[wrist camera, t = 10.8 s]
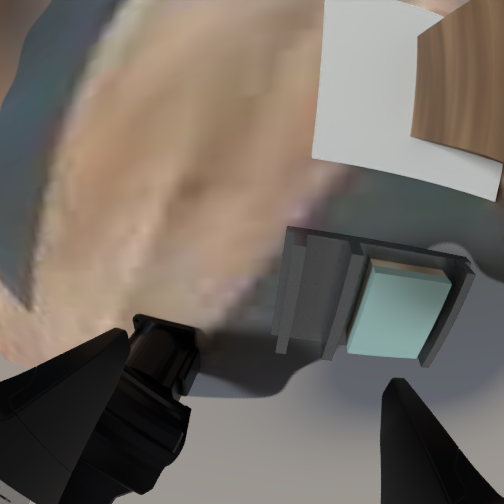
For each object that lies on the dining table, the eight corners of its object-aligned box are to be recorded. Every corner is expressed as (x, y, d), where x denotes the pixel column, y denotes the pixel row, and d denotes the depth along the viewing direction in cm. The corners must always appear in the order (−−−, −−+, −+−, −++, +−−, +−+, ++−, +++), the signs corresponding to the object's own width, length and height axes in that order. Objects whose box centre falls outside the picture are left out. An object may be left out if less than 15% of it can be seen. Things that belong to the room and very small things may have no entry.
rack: (272, 327, 24) (267, 351, 22) (287, 226, 20) (283, 243, 18) (427, 344, 22) (435, 367, 20) (465, 257, 18) (482, 275, 16)
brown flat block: (410, 136, 15) (487, 155, 7) (417, 36, 12) (487, -10, 4) (437, 144, 15) (522, 171, 7) (444, 46, 12) (523, 13, 4)
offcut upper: (346, 344, 21) (347, 352, 20) (372, 265, 18) (375, 272, 17) (413, 350, 20) (416, 358, 20) (446, 276, 17) (451, 284, 16)
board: (311, 156, 18) (311, 158, 17) (325, -9, 13) (325, -15, 12) (488, 197, 16) (495, 201, 15) (502, 51, 11) (509, 50, 10)
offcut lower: (345, 335, 22) (346, 344, 21) (370, 258, 19) (372, 265, 18) (410, 342, 21) (413, 350, 20) (442, 270, 18) (446, 276, 17)
